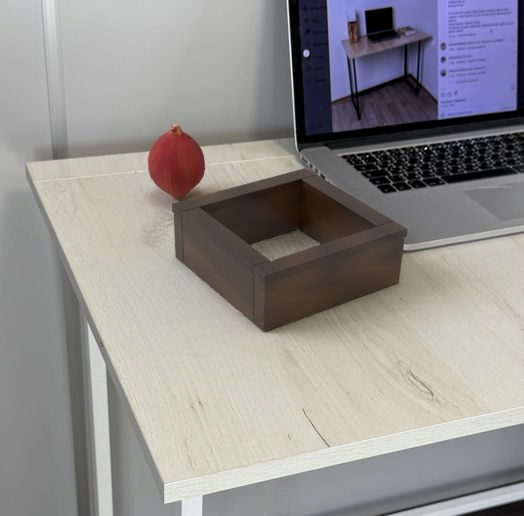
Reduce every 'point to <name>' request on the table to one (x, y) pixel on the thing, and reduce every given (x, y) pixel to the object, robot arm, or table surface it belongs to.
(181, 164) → the red rounded tapered piece
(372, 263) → the wooden box
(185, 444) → the table surface
